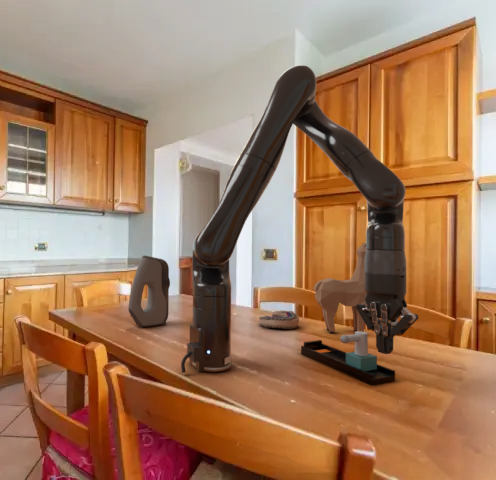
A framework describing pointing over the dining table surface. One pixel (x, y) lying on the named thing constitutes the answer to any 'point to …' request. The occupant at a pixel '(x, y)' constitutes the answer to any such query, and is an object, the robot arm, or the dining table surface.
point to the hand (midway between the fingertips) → (384, 352)
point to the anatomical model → (280, 320)
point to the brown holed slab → (150, 292)
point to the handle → (360, 352)
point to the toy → (343, 294)
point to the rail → (338, 362)
